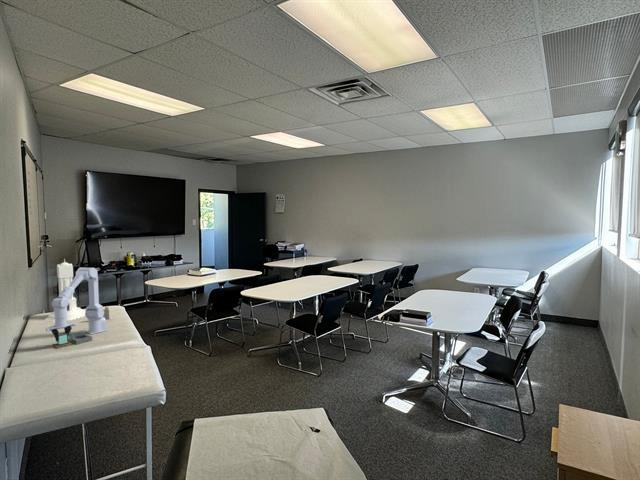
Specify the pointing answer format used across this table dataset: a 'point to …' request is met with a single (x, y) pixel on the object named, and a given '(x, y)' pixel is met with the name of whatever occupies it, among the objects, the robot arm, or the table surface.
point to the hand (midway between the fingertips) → (62, 340)
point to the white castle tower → (64, 281)
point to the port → (79, 337)
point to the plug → (62, 338)
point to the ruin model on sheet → (106, 313)
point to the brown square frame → (62, 345)
